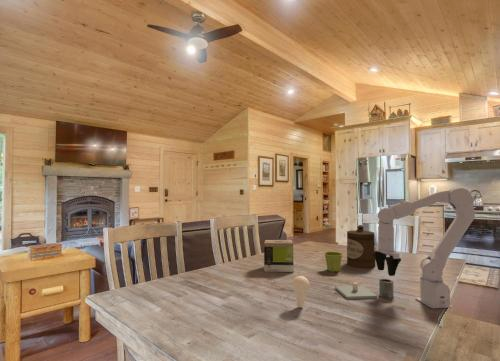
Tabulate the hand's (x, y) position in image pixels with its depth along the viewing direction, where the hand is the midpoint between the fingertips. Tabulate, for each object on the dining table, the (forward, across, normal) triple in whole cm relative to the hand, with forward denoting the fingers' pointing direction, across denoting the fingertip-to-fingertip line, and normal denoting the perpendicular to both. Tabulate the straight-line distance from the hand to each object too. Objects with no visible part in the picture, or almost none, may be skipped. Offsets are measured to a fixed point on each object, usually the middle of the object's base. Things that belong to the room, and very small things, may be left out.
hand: (386, 272), depth 117 cm
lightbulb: (+9, +8, -37) cm, 39 cm away
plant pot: (+9, -37, -7) cm, 39 cm away
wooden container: (+9, -47, +13) cm, 50 cm away
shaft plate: (+9, -4, -11) cm, 15 cm away
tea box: (+10, -41, -35) cm, 55 cm away
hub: (+9, 0, 0) cm, 9 cm away
